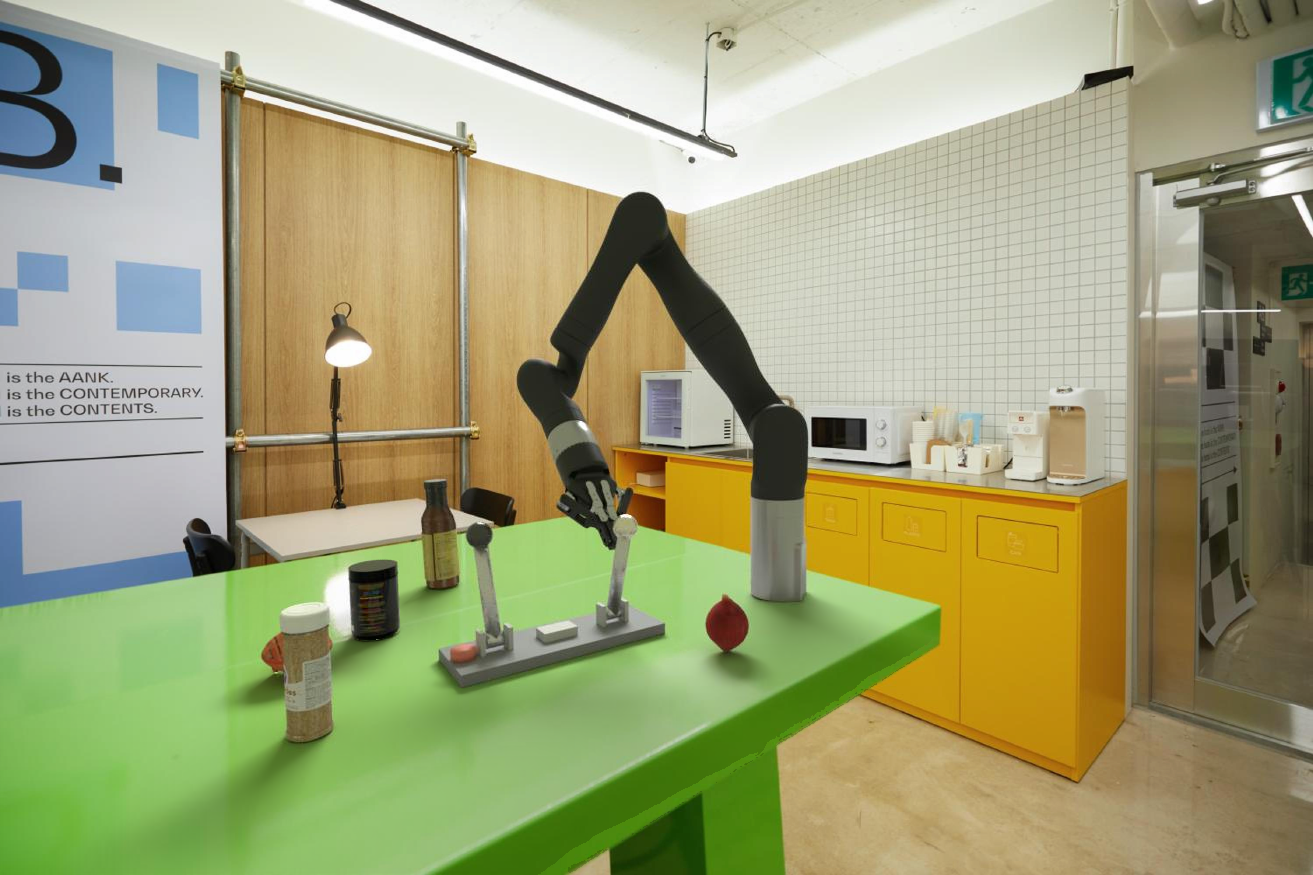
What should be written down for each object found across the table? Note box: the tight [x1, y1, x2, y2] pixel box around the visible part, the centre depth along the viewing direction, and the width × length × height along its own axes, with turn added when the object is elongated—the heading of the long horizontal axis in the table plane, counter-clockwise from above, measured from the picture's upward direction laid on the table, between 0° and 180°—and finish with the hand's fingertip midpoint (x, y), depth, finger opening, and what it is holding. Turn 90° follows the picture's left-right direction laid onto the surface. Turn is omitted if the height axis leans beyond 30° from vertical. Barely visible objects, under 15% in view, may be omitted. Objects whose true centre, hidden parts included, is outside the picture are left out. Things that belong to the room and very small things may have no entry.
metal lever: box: [605, 514, 639, 620], centre depth 92 cm, size 4×4×17 cm
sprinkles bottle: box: [279, 601, 335, 743], centre depth 66 cm, size 5×5×14 cm
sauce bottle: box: [420, 478, 461, 590], centre depth 118 cm, size 7×6×20 cm
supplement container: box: [347, 559, 401, 641], centre depth 94 cm, size 7×7×10 cm
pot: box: [260, 630, 333, 673], centre depth 81 cm, size 8×8×7 cm
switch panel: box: [438, 597, 666, 688], centre depth 89 cm, size 10×30×4 cm, turn 124°
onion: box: [704, 593, 750, 653], centre depth 86 cm, size 6×6×8 cm
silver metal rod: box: [465, 521, 506, 649], centre depth 85 cm, size 4×4×17 cm
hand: (616, 546), depth 92 cm, fingers closed
